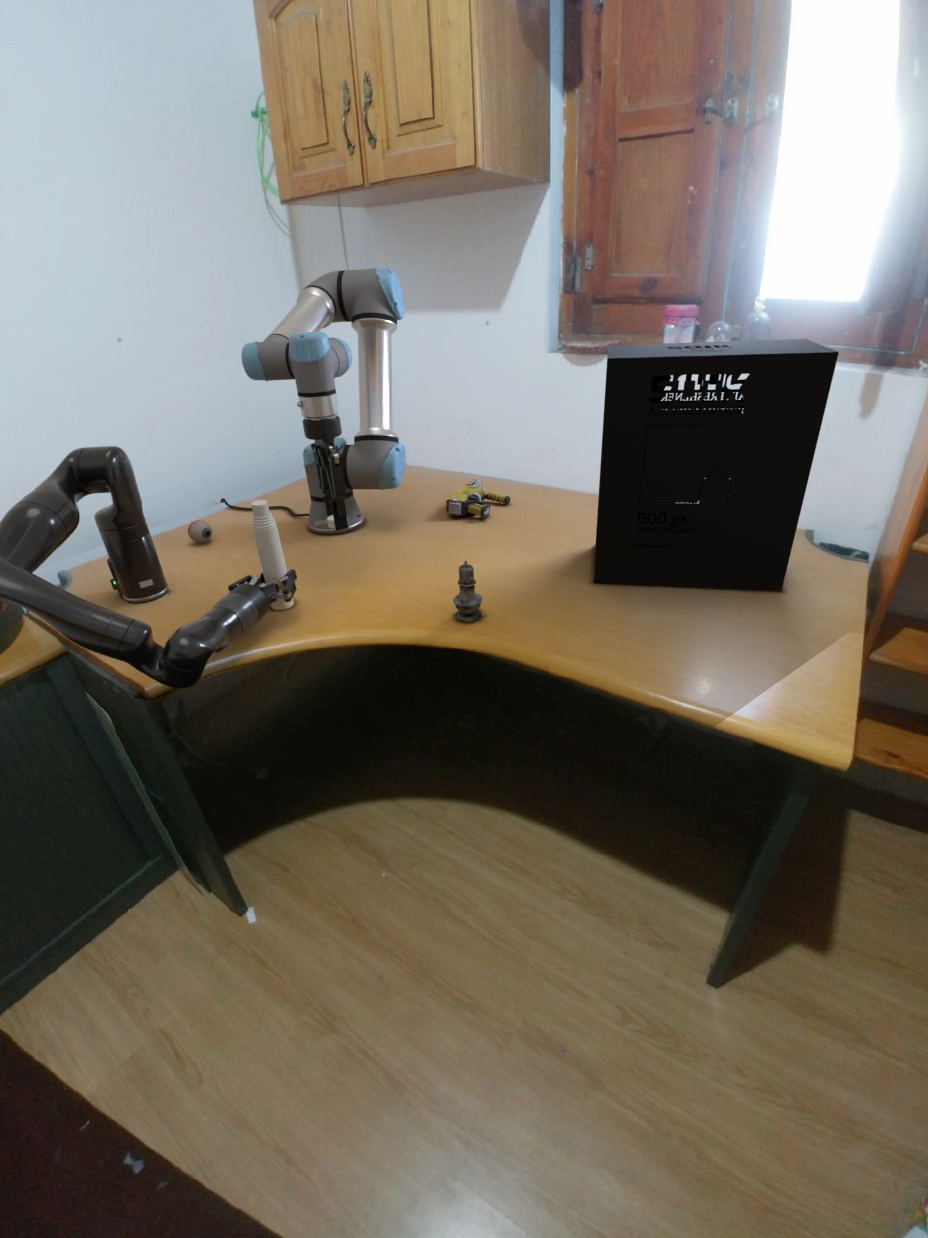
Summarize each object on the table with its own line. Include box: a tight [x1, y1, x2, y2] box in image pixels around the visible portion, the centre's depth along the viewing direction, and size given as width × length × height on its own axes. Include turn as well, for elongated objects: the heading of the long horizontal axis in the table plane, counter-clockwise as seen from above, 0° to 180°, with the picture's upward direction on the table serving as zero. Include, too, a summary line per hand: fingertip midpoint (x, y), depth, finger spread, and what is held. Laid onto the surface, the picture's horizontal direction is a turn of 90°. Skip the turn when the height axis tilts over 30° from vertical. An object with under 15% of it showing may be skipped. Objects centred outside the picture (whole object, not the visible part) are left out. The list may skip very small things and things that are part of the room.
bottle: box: [250, 499, 295, 611], centre depth 124 cm, size 5×5×23 cm
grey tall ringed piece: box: [452, 560, 484, 623], centre depth 118 cm, size 6×6×12 cm
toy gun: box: [445, 478, 511, 520], centre depth 176 cm, size 5×24×15 cm
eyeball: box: [187, 519, 213, 544], centre depth 162 cm, size 6×6×6 cm
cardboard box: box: [593, 338, 840, 592], centre depth 124 cm, size 38×20×45 cm, turn 78°
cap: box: [327, 515, 348, 529], centre depth 133 cm, size 4×4×2 cm
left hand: (282, 572), depth 128 cm, fingers closed on bottle, 4 cm apart
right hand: (338, 525), depth 133 cm, fingers closed on cap, 4 cm apart
